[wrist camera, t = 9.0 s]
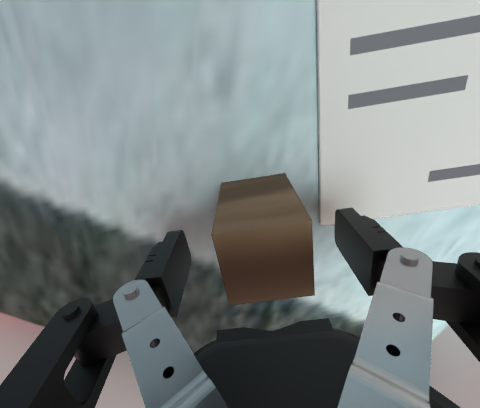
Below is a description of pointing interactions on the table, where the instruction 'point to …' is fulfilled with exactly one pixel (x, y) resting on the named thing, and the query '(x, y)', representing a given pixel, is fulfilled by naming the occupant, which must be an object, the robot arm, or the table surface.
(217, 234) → the walnut block
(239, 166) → the table surface
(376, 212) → the letter
